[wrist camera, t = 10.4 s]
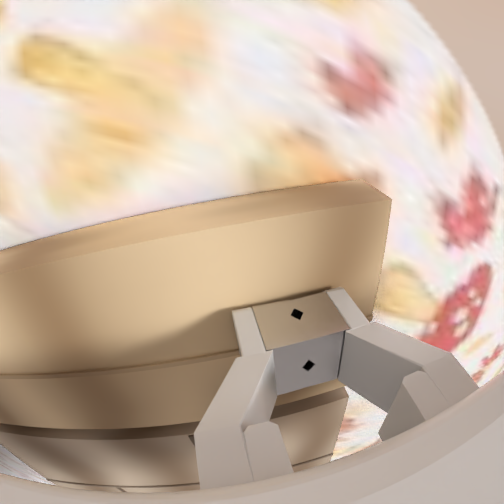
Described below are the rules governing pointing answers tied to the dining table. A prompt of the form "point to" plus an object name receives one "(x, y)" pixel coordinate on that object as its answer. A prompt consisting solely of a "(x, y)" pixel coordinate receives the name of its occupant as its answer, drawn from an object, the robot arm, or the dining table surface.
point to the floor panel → (164, 448)
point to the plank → (171, 301)
